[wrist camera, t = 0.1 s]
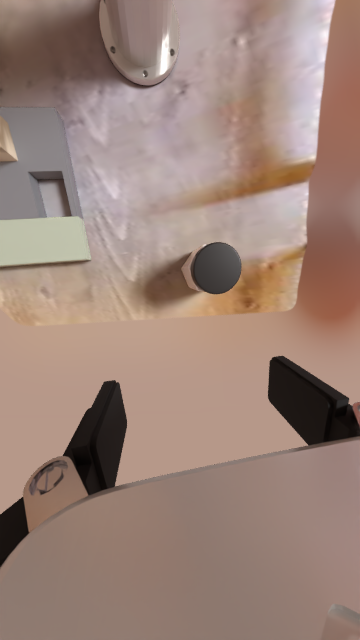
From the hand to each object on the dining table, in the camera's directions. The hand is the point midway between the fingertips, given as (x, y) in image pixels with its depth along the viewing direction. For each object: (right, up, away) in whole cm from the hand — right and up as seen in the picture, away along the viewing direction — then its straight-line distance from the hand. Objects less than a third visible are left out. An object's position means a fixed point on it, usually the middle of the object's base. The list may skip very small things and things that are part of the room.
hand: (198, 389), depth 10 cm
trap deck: (-30, +27, +22) cm, 46 cm away
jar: (+4, +15, +29) cm, 33 cm away
